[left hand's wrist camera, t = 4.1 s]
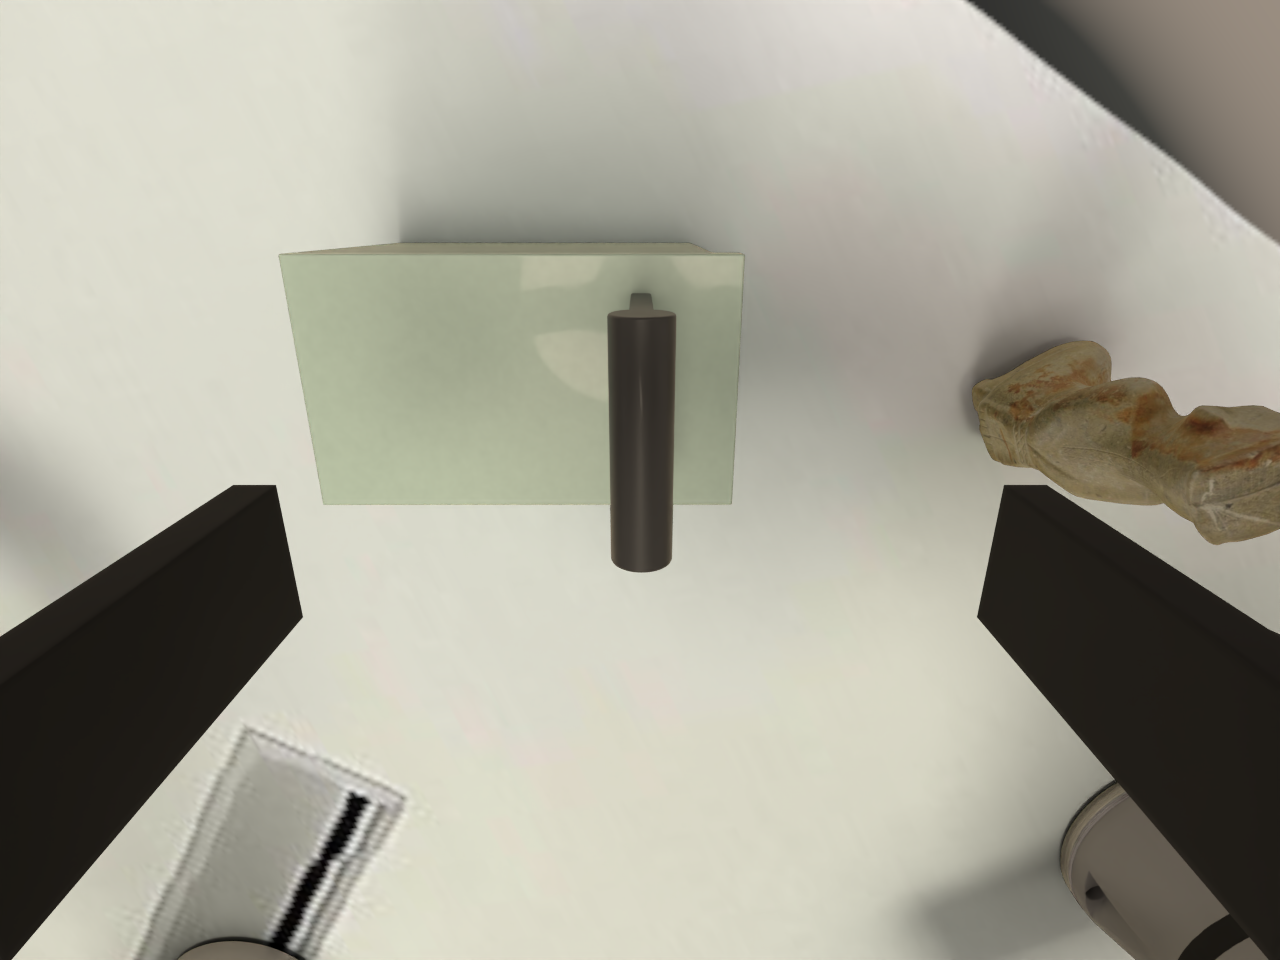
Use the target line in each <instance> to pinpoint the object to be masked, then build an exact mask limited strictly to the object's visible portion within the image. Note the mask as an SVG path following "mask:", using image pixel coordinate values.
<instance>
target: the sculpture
mask: <svg viewBox="0 0 1280 960" xmlns="http://www.w3.org/2000/svg"><path fill="white" fill-rule="evenodd" d="M972 398H973V404H974V408H975V410H976V411H977V412H978V416H979V421H980V426H979V430H980V432H981V435H982V438H983V440H984V443H985V445H986V448H987V450H988V452H989V454H990V456H991V458H992V459H993V460H995V461H998V462H1001V463H1002V464H1004V465H1009V466H1015V467H1025V468H1034V469H1037V470H1039V471H1041V472H1042V473H1043V474H1044V475H1045V476H1047V477H1048V478H1050V479H1051V480H1052V481H1054V482H1055V483H1056V484H1058V485H1059V486H1061V487H1062V488H1063V489H1065V490H1066V491H1068V492H1069V493H1071V494H1073V495H1075V496H1078V497H1082V498H1086V499H1092V500H1099V501H1106V502H1114V503H1122V504H1133V505H1158V504H1162V503H1165V504H1166V505H1167V506H1168V507H1169V508H1170V509H1172V510H1173V511H1174V512H1176V513H1177V514H1178V515H1180V516H1182V517H1183V518H1185V519H1187V520H1189V521H1191V522H1193V523H1194V525H1195V527H1196V528H1197V530H1198V532H1199V533H1200V534H1201V535H1202V537H1203V538H1205V539H1206V540H1207V541H1208V542H1209V543H1211V544H1214V545H1219V544H1222V543H1227V542H1238V541H1244V540H1248V539H1252V538H1255V537H1259V536H1263V535H1266V534H1269V533H1271V532H1273V531H1276V530H1278V529H1280V413H1278V412H1275V411H1273V410H1271V409H1268V408H1266V407H1264V406H1255V405H1252V406H1238V407H1220V406H1198V407H1197V408H1195V409H1194V410H1193V411H1192V412H1191V414H1189V415H1187V416H1181V415H1178V413H1177V412H1176V411H1175V410H1174V408H1173V406H1172V404H1171V402H1170V400H1169V397H1168V395H1167V393H1166V392H1165V390H1164V389H1163V388H1162V387H1161V386H1160V385H1159V384H1158V383H1157V382H1154V381H1152V380H1149V379H1146V378H1140V377H1137V378H1125V379H1120V380H1115V381H1111V357H1110V355H1109V353H1108V352H1107V350H1106V349H1105V348H1103V347H1102V346H1100V345H1099V344H1097V343H1095V342H1092V341H1075V342H1069V343H1065V344H1062V345H1059V346H1056V347H1054V348H1052V349H1050V350H1048V351H1046V352H1044V353H1042V354H1040V355H1038V356H1036V357H1034V358H1032V359H1030V360H1028V361H1027V362H1025V363H1023V364H1022V365H1020V366H1018V367H1017V368H1015V369H1014V370H1012V371H1010V372H1009V373H1007V374H1005V375H1003V376H1000V377H998V378H995V379H992V380H990V379H986V380H983V381H981V382H979V383H977V384H976V385H975V386H974V387H973V389H972Z"/></svg>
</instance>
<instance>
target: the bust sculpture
mask: <svg viewBox="0 0 1280 960" xmlns="http://www.w3.org/2000/svg"><path fill="white" fill-rule="evenodd" d="M177 960H297V959H296V958H294V957H292V956H290V955H288V954H286V953H284V952H282V951H280V950H277V949H274V948H271V947H268V946H264V945H260V944H255V943H249V942H239V941H225V942H216V943H210V944H206V945H202V946H199V947H197V948H194V949H192V950H190V951H188V952H186V953H185V954H183V955H182V956H181V957H180V958H179V959H177Z"/></svg>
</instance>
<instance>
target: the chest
mask: <svg viewBox="0 0 1280 960" xmlns="http://www.w3.org/2000/svg"><path fill="white" fill-rule="evenodd" d="M298 253H712V252H710V251H707V250H705V249H703V248H700V247H698V246H696V245H693V244H692V243H393V244H382V245H372V246H361V247H350V248H339V249H328V250H318V251H307V252H298Z"/></svg>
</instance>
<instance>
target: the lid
mask: <svg viewBox="0 0 1280 960" xmlns="http://www.w3.org/2000/svg"><path fill="white" fill-rule="evenodd" d="M279 260H280V266H281V271H282V277H283V282H284V288H285V293H286V299H287V304H288V310H289V316H290V321H291V327H292V332H293V338H294V343H295V349H296V355H297V360H298V366H299V371H300V377H301V382H302V388H303V393H304V399H305V405H306V410H307V416H308V421H309V427H310V432H311V438H312V443H313V449H314V455H315V460H316V466H317V471H318V477H319V482H320V488H321V494H322V499H323V504H324V505H610V514H611V559H612V561H613V563H614V564H615V565H616V566H617V567H619V568H621V569H623V570H627V571H631V572H652V571H657V570H660V569H662V568H664V567H666V566H667V565H668V564H669V563H670V562H671V559H672V527H673V505H730V504H732V490H733V471H734V452H735V433H736V414H737V395H738V376H739V357H740V338H741V318H742V299H743V280H744V261H745V255H744V254H742V253H285V254H279Z"/></svg>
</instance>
